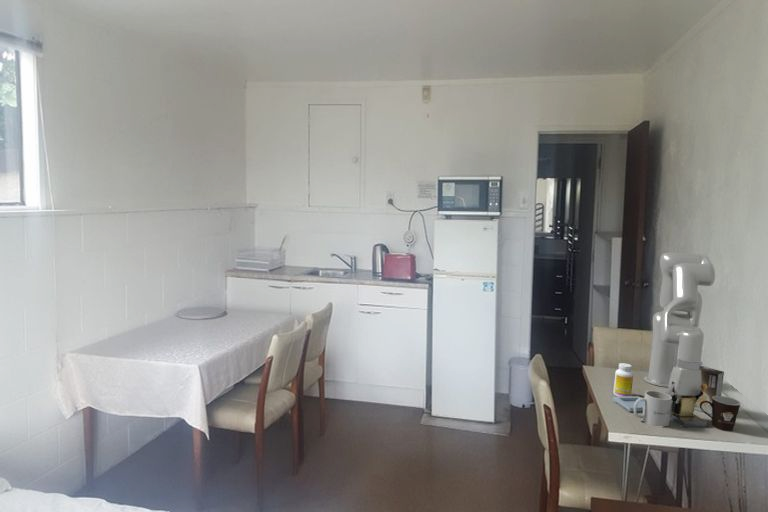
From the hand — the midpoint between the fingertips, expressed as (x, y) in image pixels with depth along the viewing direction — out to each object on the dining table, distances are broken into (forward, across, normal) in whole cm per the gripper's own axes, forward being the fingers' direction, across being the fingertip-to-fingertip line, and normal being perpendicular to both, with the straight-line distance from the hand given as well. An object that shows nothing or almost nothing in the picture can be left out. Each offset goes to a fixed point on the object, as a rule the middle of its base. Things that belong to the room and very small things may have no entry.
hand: (682, 412), depth 199 cm
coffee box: (+3, -16, -8) cm, 18 cm away
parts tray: (+3, +11, -12) cm, 16 cm away
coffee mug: (+3, -10, +6) cm, 12 cm away
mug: (+3, +14, +1) cm, 14 cm away
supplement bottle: (+3, +9, -23) cm, 25 cm away
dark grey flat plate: (+3, 0, -4) cm, 5 cm away
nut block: (+3, 0, 0) cm, 3 cm away
